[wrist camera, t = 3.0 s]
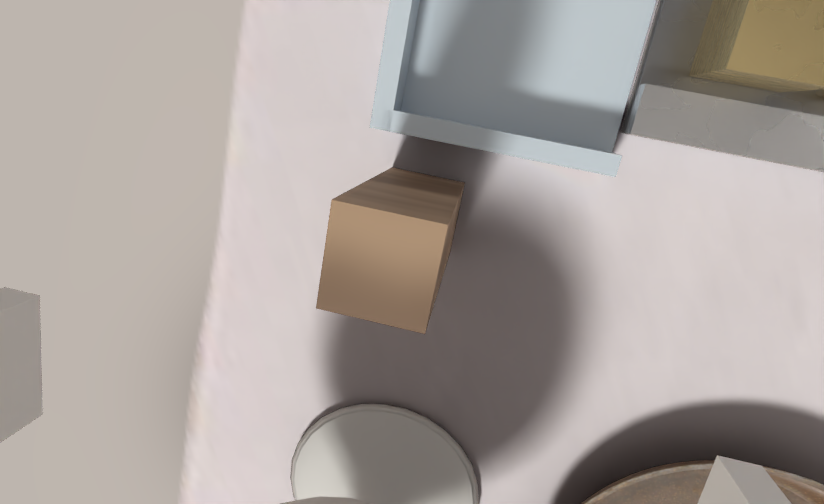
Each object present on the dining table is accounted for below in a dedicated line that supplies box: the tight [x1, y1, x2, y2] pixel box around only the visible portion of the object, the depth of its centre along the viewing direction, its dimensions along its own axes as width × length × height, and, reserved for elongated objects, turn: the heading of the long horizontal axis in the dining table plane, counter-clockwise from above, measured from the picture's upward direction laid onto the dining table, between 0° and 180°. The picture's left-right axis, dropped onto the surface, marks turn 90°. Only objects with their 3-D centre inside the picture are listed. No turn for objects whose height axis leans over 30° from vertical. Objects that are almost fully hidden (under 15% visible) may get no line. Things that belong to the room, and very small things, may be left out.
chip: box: [689, 0, 824, 92], centre depth 21 cm, size 4×4×4 cm
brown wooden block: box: [316, 167, 465, 334], centre depth 23 cm, size 4×4×11 cm
